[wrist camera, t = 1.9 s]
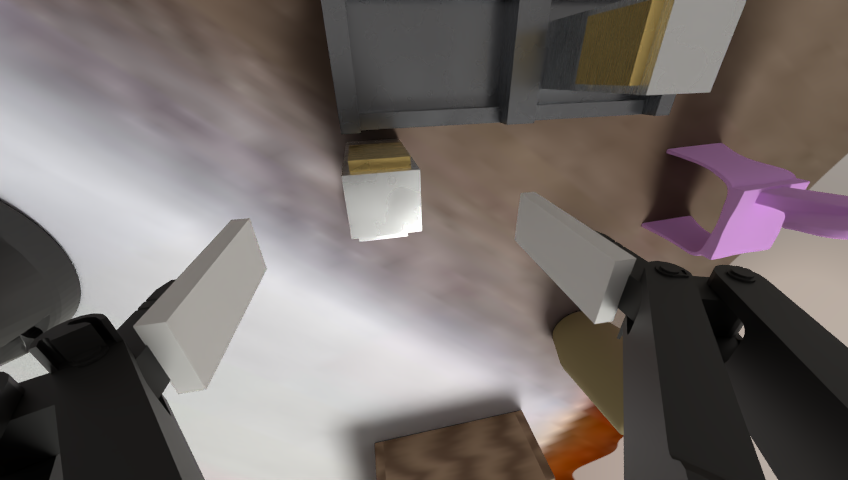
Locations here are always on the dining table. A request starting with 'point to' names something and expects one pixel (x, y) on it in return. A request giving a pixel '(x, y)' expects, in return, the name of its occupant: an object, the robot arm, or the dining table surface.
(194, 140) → the dining table surface
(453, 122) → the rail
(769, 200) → the toy chair
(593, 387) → the squeeze bottle
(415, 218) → the gold-topped white block
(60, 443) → the robot arm
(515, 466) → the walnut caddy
